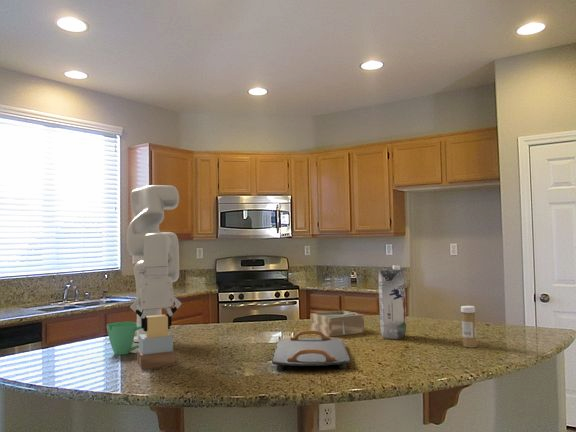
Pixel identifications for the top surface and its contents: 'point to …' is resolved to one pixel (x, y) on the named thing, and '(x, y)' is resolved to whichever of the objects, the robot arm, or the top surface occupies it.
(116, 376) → the top surface
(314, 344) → the serving board
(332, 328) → the coaster caddy
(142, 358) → the walnut block
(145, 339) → the slate block
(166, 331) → the ochre cube
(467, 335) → the sprinkles bottle
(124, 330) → the mug
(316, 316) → the right angle wall
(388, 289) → the juice carton
